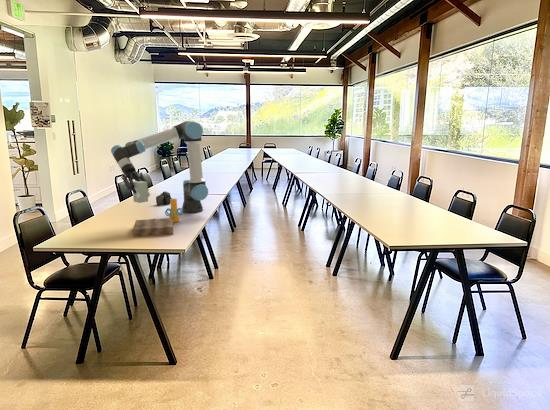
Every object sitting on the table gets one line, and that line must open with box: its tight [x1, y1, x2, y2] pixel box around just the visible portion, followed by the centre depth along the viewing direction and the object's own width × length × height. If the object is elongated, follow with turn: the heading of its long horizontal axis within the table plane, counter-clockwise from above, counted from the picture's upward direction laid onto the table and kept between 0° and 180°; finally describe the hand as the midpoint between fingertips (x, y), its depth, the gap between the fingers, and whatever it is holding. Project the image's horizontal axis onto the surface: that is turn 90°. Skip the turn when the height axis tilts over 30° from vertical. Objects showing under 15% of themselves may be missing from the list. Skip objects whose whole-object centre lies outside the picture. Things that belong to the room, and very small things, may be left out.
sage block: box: [132, 181, 149, 204], centre depth 232 cm, size 6×6×12 cm
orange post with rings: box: [164, 198, 184, 223], centre depth 250 cm, size 12×10×15 cm
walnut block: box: [132, 217, 174, 238], centre depth 230 cm, size 22×22×5 cm
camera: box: [155, 191, 173, 206], centre depth 306 cm, size 13×10×10 cm
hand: (144, 196), depth 231 cm, fingers closed on sage block, 6 cm apart
